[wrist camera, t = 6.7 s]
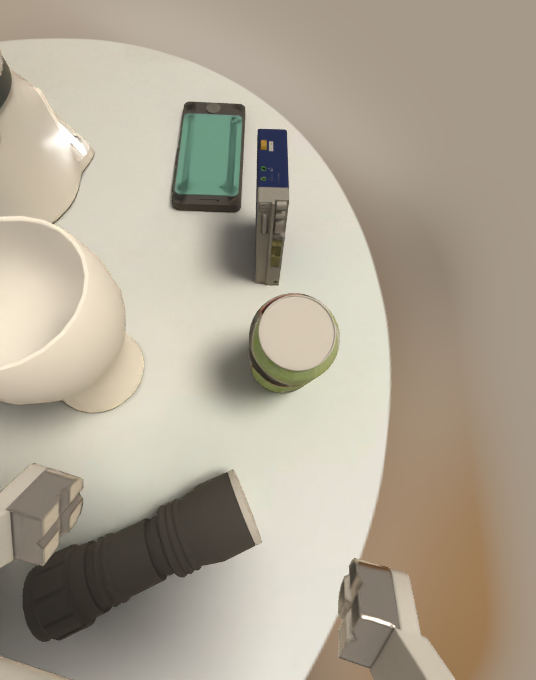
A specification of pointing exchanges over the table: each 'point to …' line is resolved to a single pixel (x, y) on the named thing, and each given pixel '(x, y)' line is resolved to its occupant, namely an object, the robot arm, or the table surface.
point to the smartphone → (210, 157)
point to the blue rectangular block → (271, 203)
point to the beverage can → (292, 342)
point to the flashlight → (138, 558)
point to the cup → (61, 322)
